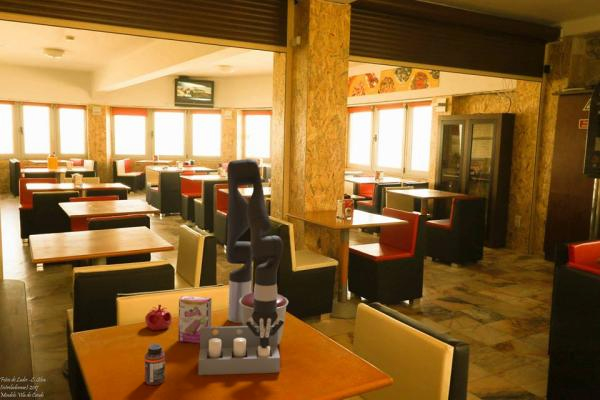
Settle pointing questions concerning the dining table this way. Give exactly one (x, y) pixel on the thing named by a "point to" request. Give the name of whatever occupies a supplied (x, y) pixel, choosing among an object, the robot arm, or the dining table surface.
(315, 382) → the dining table surface
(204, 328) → the console
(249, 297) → the canister
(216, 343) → the button
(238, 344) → the middle button
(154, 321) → the pomegranate
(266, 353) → the button
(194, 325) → the candy bar box
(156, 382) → the supplement bottle
